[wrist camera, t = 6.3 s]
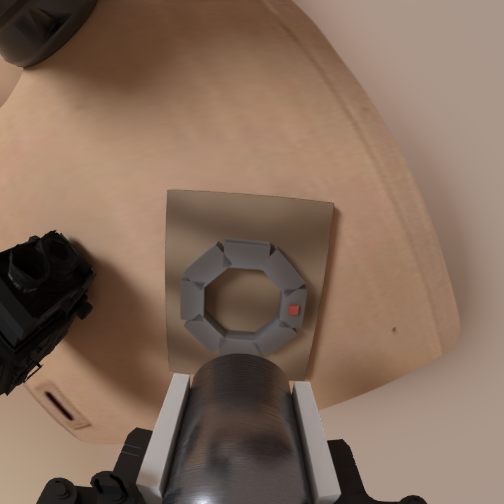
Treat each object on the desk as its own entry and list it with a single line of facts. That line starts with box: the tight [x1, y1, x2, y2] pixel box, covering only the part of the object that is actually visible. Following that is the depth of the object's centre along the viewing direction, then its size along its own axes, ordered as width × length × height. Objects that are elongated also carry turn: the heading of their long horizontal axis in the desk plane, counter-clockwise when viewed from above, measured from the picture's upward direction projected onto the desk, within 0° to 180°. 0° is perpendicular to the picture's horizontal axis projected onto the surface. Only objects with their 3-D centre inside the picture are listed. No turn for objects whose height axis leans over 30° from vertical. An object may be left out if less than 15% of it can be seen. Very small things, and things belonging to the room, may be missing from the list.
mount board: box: [165, 190, 334, 381], centre depth 25 cm, size 18×14×3 cm
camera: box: [0, 230, 96, 396], centre depth 16 cm, size 10×14×20 cm
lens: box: [162, 353, 312, 504], centre depth 8 cm, size 6×5×10 cm
